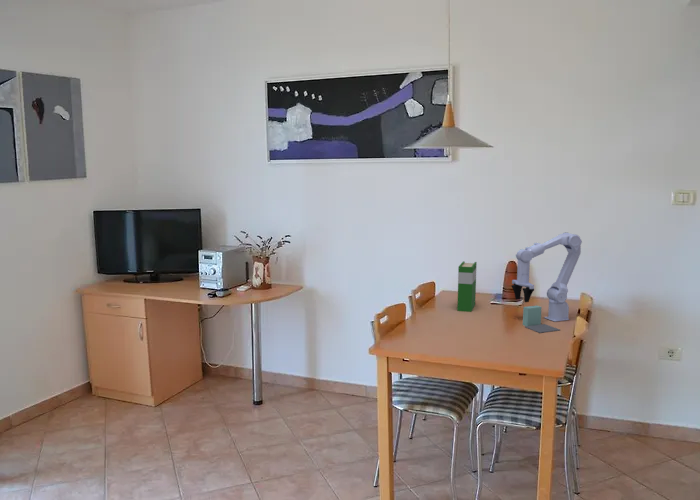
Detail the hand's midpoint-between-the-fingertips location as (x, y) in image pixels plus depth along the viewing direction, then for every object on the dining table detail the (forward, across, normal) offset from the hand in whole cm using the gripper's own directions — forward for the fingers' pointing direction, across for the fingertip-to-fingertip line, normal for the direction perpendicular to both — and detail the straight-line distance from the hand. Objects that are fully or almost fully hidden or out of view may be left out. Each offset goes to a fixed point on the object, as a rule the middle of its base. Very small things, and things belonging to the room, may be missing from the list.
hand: (522, 300), depth 302 cm
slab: (+10, +8, 0) cm, 13 cm away
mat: (+10, +16, 0) cm, 19 cm away
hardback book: (+11, -34, -10) cm, 37 cm away
